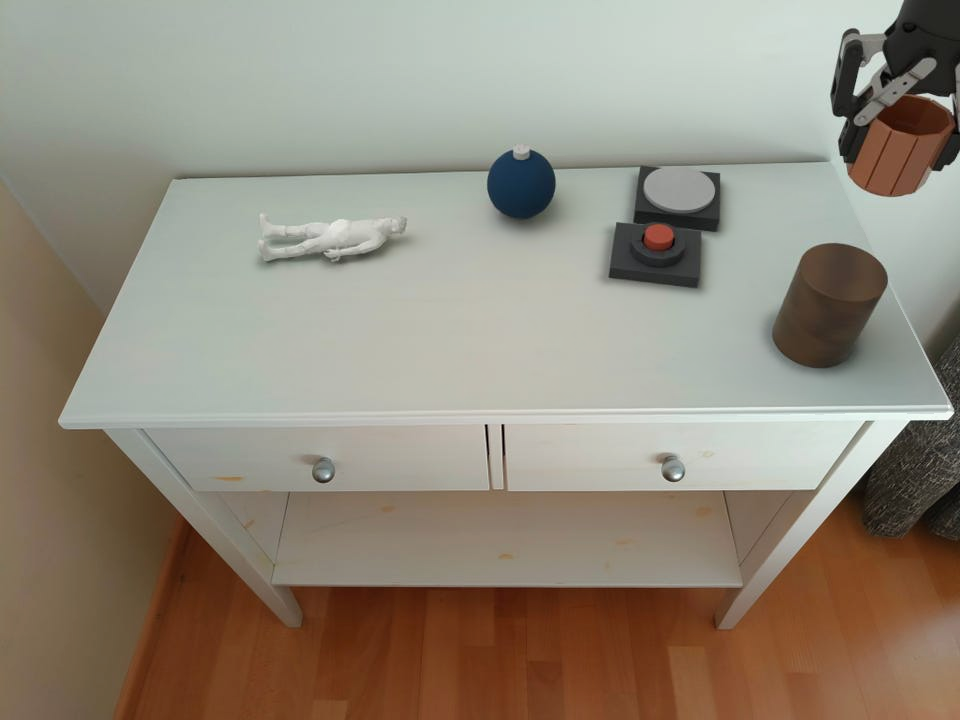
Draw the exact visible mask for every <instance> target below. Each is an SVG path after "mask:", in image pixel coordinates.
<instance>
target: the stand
mask: <svg viewBox="0 0 960 720" xmlns="http://www.w3.org/2000/svg"><path fill="white" fill-rule="evenodd" d="M888 284H889V276H888V272H887V270H886V268H885V266H884V265H883V264H882V263H881V261H880V260H879V259H878V258H876V256H874V255H872V254H871V253H870V252H868V251H867V250H864V249H862V248H859V247H857V246H854V245H851V244H847V243H840V242H825V243H821V244H817V245H814V246H812V247H810V248H808V249H807V250H806V251H805V252H804V253H803V254H802V256H801V257H800V259H799V263H798V264H797V267H796V270H795V271H794V274H793V277H792V279H791V281H790V284H789V287H788V289H787V292H786V293H785V296H784V299H783V301H782V304H781V306H780V309H779V311H778V313H777V316H776V318H775V320H774V323H773V325H772V328H771V334H772V335H771V336H772V339H773V342H774V345H775V346H776V347H777V349H778V350H779V351H780V353H782V354H783V356H785V357H787V358H788V359H789V360H791V361H792V362H795V363H798V364H800V365H802V366H806V367H810V368H815V369H816V368H817V369H826V368H831V367H835V366H837V365H840V364H841V363H843V362H844V361H845V360H846V359H847V358H848V357H849V356H850V354H851V352H852V351H853V348H854V347H855V345H856V343H857V341H858V339H859V338H860V336H861V334H862V332H863V331H864V329H865V328H866V325H867V323H868V322H869V320H870V318H871V316H872V315H873V312H874V311H875V309H876V307H877V305H878V304H879V302H880V300H881V298H882V297H883V295H884V293H885V291H886V290H887V287H888Z"/></svg>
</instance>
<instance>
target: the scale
mask: <svg viewBox="0 0 960 720" xmlns="http://www.w3.org/2000/svg"><path fill="white" fill-rule="evenodd" d="M638 172H639V173H638V179H637V186H636V187H637V188H636V194H635V204H634V210H633V219H632V224H640V225H643V224H647V223H651V222H658V223H667V224H669V225H671V226H673V227H675V228H677V229H687V230H696V231H706V232H707V231H708V232H717V229H718V226H719V222H720V215H721V213H720V212H721V211H720V210H721V207H720V206H721V173H720V172H714V171H713V172H712V171H703V170H697V169H695V168H693V167H687V166H681V165H669V166H664V167H660V166H659V167H658V166H650V165H649V166H647V165H640V167H639V171H638Z"/></svg>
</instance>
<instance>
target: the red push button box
mask: <svg viewBox="0 0 960 720" xmlns="http://www.w3.org/2000/svg"><path fill="white" fill-rule="evenodd" d="M656 224H660V225H665V226H667V227H669V228H670V229H671V230H672V231H673V233H674V237H673V242H672V246H671V247H670V248H669V249H668V250H665V251H653V250H651V249H649V248H647V247H646V245H645V244H644V237H645V231H646V229H647V228H648V227H650V226H652V225H656ZM701 248H702V230H697V229H687V228H678V227H673V226H671V225H669V224H667V223H658V222H651V223H647V224H641V223H629V222H621V221H616V222H615V229H614V235H613V243H612V250H611V257H610V263H609V271H608V278H609V279H618V280H626V281H633V282H635V281H636V282H643V283H651V284H652V283H653V284H659V285H668V286H675V287H676V286H678V287H686V288H693V289H698V287H699V282H700V278H701V254H702V249H701Z"/></svg>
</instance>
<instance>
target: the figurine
mask: <svg viewBox="0 0 960 720" xmlns="http://www.w3.org/2000/svg"><path fill="white" fill-rule="evenodd" d="M408 221H409V218H408V217H406V216H404V215H401V214H400V215H397V216H396V218H391V217H386V218H380V219H379V218H372V219H359V220H353V221H351V220H350V219H343V218H339V219H336V220H335V221H332V223H327V222H322V221H313V222H310V223H306V224H299V225H289V226H288V225H287V224H284V225H276V224H273V223H271V222H270V219H269V216H268V215H267V214H266V213H263V212H262V213H260V214H259V223H260V227H261V228H262V236H263V238H264V239H265V240H268V239H272V238H274V237H278V238H279V237H280V238H286V239H287V238H288V237H290V238H307V239H305V240H304V241H303V242H300V243H298V244H297V245H292V246H288V247H287V246H283V247H280V248H278V247H277V248H276V247H271V246H269V245H267V241H265V240H263V239H257V240H258V241H257V249H258V251H259V253H260V254H261V255H262V258H263V260H264V262H270V261H273V260H277V259H289V258H294V257H300V256H303V255H311V254H313V253H314V255H319V254H322V253H323V254H324V256H325V257H328V258H330V259H331V260H330V261H331V262H332V263H334V262H338V261H339V259H341V256H350V255H358V254H359V255H360V254H362V255H363V254H366V253H369V252H372V251H375V250H378V249H379V248H380V247H381V246H382V245H383V244H384V243H385V242H386V241H387V240H388V236H390V235H393V234H400V235H402V234H404V232H406V227H407V225H408V223H407V222H408Z"/></svg>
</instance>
